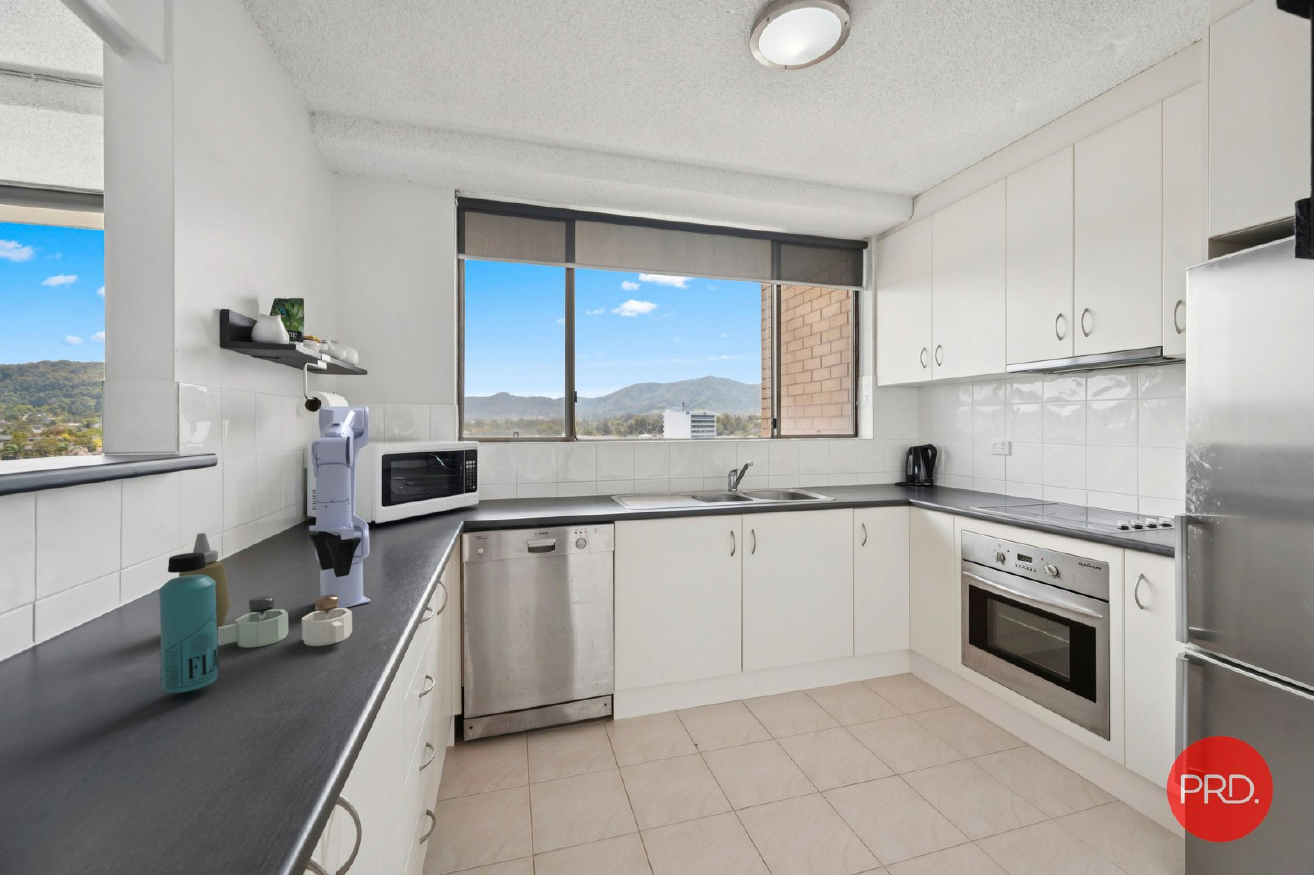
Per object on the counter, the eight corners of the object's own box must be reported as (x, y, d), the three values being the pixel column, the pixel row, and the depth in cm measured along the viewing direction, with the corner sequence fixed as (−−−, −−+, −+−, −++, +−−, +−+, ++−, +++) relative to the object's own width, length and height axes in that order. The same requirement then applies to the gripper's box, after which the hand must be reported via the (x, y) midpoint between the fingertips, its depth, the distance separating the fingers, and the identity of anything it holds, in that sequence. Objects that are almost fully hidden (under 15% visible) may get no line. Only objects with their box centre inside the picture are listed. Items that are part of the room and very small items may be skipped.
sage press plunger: (242, 635, 98) (241, 599, 98) (275, 627, 102) (274, 592, 102) (248, 642, 95) (248, 605, 95) (282, 634, 99) (282, 598, 99)
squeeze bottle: (241, 621, 108) (239, 529, 107) (203, 637, 100) (201, 538, 99) (203, 620, 109) (201, 529, 108) (163, 636, 101) (160, 537, 100)
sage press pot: (280, 629, 104) (280, 606, 104) (292, 638, 99) (291, 615, 99) (214, 644, 96) (214, 620, 96) (223, 656, 92) (222, 631, 92)
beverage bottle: (186, 706, 75) (182, 560, 75) (147, 702, 76) (143, 558, 76) (231, 684, 82) (228, 549, 81) (195, 680, 83) (192, 548, 82)
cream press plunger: (307, 634, 99) (306, 598, 99) (337, 626, 103) (337, 591, 103) (316, 641, 96) (315, 604, 95) (347, 633, 99) (347, 597, 99)
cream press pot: (298, 638, 99) (298, 615, 99) (342, 627, 104) (342, 605, 104) (316, 653, 92) (315, 628, 92) (362, 641, 98) (361, 617, 98)
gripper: (297, 499, 106) (299, 570, 106) (322, 506, 96) (324, 584, 97) (338, 496, 111) (339, 563, 111) (365, 502, 101) (367, 575, 102)
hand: (335, 572), depth 104 cm, fingers open, 7 cm apart
